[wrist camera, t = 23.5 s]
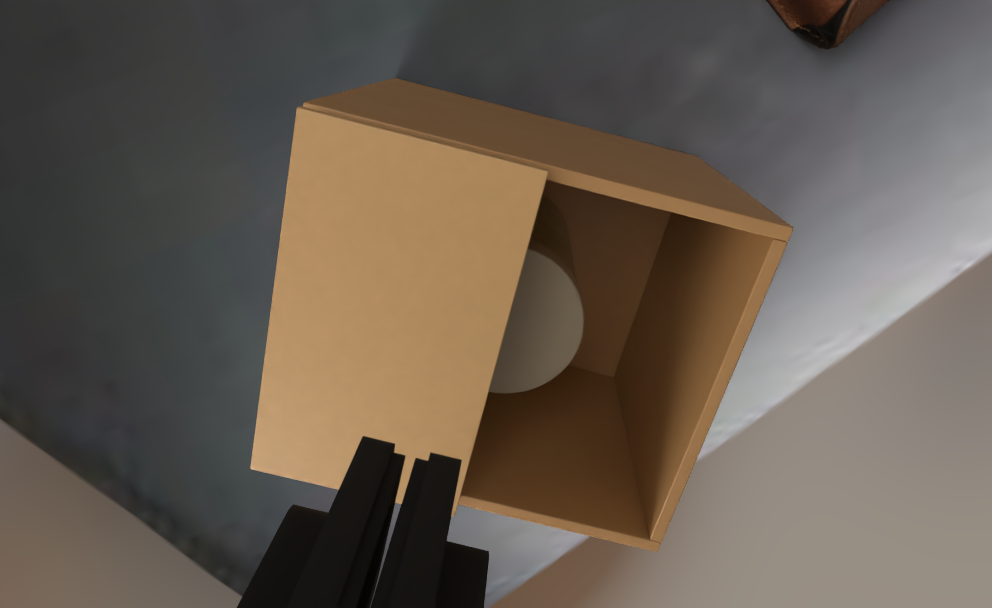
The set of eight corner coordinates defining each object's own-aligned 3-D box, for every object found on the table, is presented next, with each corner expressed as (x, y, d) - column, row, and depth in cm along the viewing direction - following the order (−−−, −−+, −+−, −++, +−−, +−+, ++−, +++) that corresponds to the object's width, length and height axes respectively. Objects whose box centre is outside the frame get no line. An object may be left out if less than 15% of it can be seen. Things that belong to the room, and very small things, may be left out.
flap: (253, 463, 20) (249, 469, 20) (300, 105, 17) (296, 106, 16) (455, 510, 21) (454, 516, 20) (548, 168, 17) (548, 171, 17)
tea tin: (470, 170, 28) (441, 226, 20) (586, 200, 28) (605, 267, 20) (444, 280, 30) (408, 373, 22) (554, 307, 30) (559, 410, 22)
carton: (351, 316, 31) (256, 456, 21) (394, 77, 28) (303, 101, 17) (618, 382, 32) (657, 552, 21) (698, 156, 28) (795, 228, 17)
